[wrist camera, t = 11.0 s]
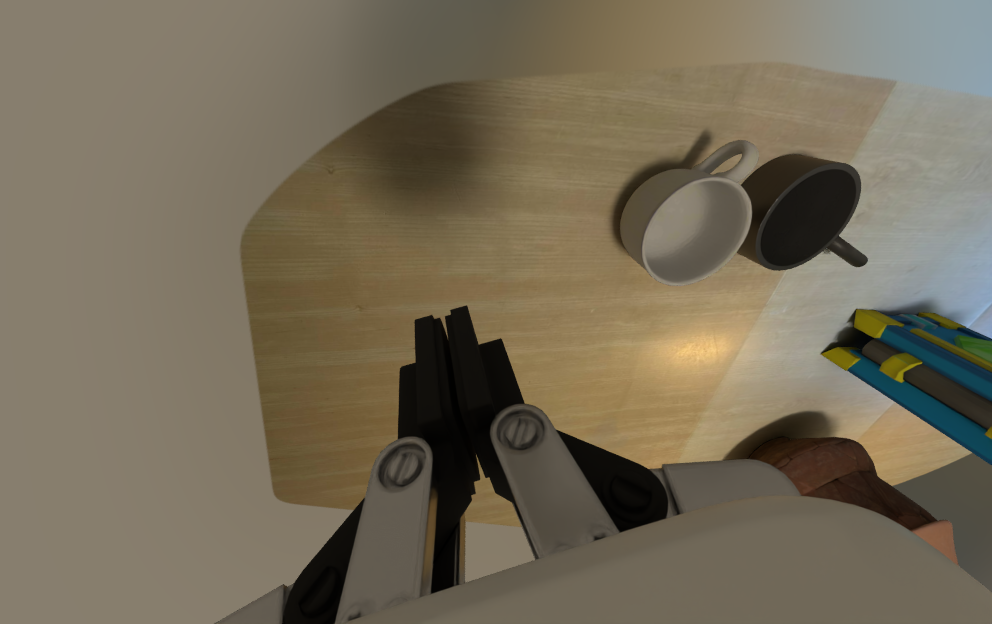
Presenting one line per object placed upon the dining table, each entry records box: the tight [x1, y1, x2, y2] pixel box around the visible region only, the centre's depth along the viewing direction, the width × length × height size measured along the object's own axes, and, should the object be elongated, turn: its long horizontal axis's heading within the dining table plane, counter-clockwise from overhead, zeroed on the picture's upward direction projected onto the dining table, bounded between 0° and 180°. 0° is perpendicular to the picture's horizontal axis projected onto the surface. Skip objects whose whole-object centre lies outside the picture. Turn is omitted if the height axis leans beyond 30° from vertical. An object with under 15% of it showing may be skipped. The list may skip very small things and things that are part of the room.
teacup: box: [620, 140, 759, 286], centre depth 35 cm, size 14×11×8 cm
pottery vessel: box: [749, 437, 958, 565], centre depth 65 cm, size 26×26×30 cm
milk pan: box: [737, 154, 868, 271], centre depth 42 cm, size 12×21×5 cm, turn 64°
